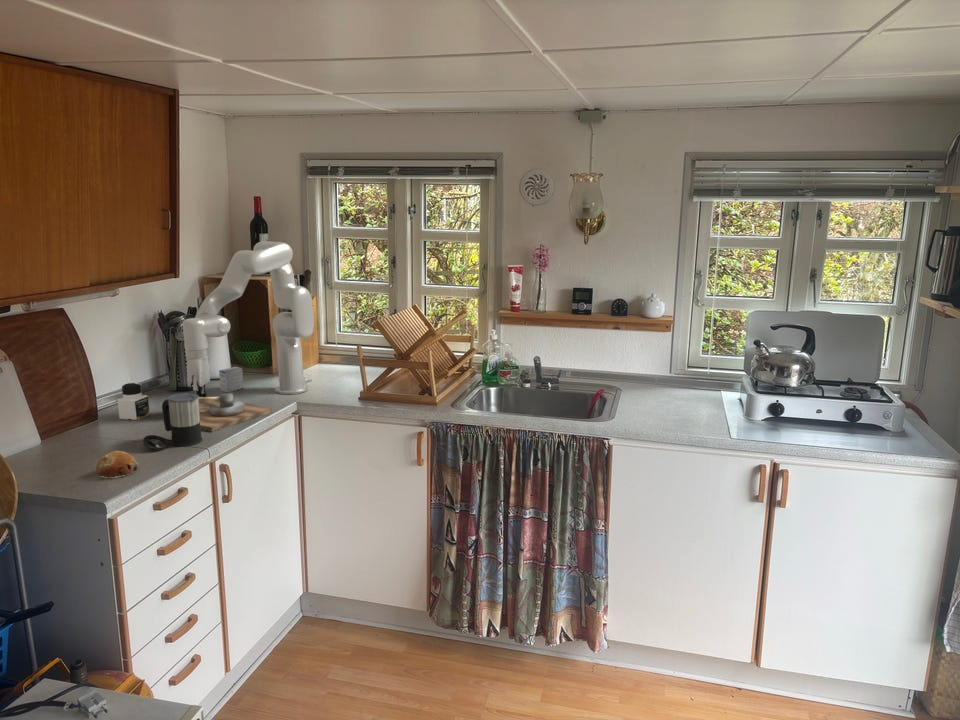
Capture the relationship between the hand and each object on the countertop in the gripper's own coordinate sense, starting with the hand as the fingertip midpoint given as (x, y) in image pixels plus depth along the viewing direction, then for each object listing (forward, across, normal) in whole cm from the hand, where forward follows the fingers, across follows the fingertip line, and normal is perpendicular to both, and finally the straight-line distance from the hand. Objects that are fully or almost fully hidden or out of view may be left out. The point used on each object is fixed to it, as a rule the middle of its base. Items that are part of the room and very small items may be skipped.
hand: (202, 403), depth 258 cm
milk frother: (+4, +34, +3) cm, 34 cm away
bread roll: (+4, +57, -3) cm, 57 cm away
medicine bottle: (+4, +3, -23) cm, 23 cm away
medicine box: (+4, -34, 0) cm, 34 cm away
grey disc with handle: (+2, +3, +6) cm, 7 cm away
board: (+4, +4, +8) cm, 10 cm away
